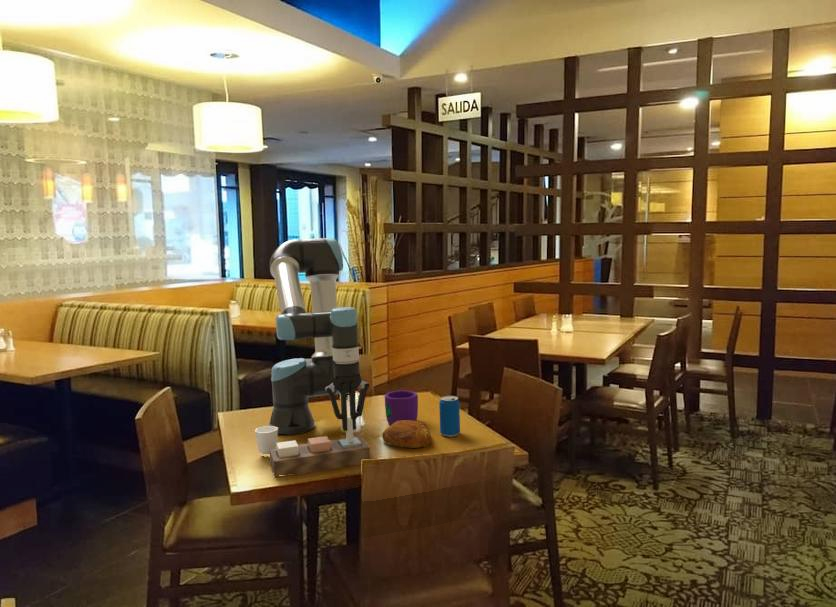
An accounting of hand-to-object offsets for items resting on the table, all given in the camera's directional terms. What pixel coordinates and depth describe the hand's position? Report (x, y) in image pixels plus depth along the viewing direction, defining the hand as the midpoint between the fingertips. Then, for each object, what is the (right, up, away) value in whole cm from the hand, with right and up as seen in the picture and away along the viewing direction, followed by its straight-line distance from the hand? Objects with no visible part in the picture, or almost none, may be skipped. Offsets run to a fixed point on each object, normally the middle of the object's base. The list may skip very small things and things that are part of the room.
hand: (349, 440), depth 185 cm
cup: (-26, -6, +7) cm, 28 cm away
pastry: (+17, -4, +14) cm, 22 cm away
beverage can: (+30, -2, +20) cm, 36 cm away
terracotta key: (-8, -4, -3) cm, 9 cm away
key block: (-8, -6, -2) cm, 11 cm away
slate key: (0, -5, +1) cm, 5 cm away
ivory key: (-17, -4, -5) cm, 18 cm away
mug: (+13, -1, +37) cm, 39 cm away
